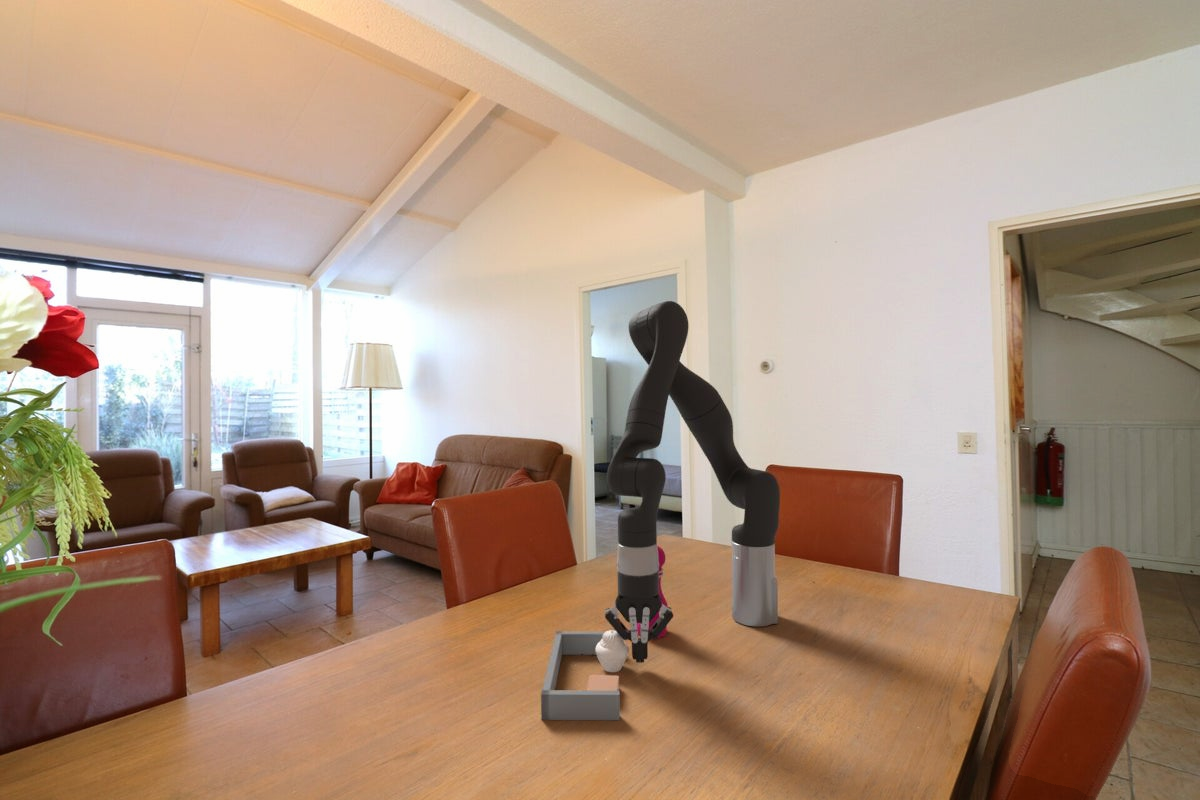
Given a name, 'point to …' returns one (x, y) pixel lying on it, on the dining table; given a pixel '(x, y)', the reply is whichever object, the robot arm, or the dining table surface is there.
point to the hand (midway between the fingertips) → (639, 660)
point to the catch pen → (576, 701)
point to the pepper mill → (661, 562)
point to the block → (603, 683)
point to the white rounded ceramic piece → (612, 651)
